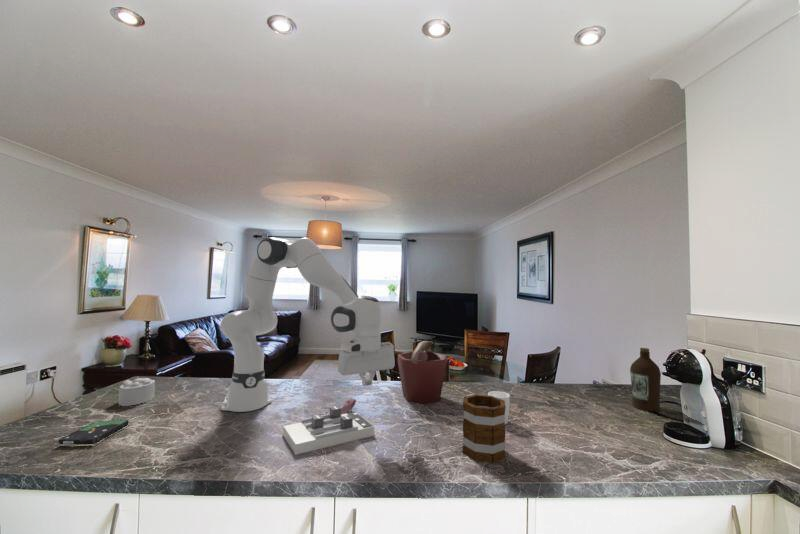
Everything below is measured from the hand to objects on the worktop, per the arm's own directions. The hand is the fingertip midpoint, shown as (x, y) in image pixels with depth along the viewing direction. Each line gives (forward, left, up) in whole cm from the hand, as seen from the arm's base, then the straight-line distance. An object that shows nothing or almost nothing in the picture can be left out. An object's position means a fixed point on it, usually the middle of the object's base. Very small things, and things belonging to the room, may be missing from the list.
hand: (367, 385), depth 115 cm
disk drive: (-42, -76, -17) cm, 88 cm away
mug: (+26, +27, -16) cm, 41 cm away
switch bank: (-5, -11, -16) cm, 20 cm away
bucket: (-20, +39, -16) cm, 47 cm away
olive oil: (+36, +115, -16) cm, 121 cm away
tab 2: (0, -7, -13) cm, 15 cm away
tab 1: (-10, -7, -13) cm, 18 cm away
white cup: (+15, +48, -16) cm, 53 cm away
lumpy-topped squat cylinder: (-75, -69, -17) cm, 103 cm away
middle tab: (-5, -15, -13) cm, 20 cm away
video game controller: (-19, +1, -17) cm, 26 cm away
